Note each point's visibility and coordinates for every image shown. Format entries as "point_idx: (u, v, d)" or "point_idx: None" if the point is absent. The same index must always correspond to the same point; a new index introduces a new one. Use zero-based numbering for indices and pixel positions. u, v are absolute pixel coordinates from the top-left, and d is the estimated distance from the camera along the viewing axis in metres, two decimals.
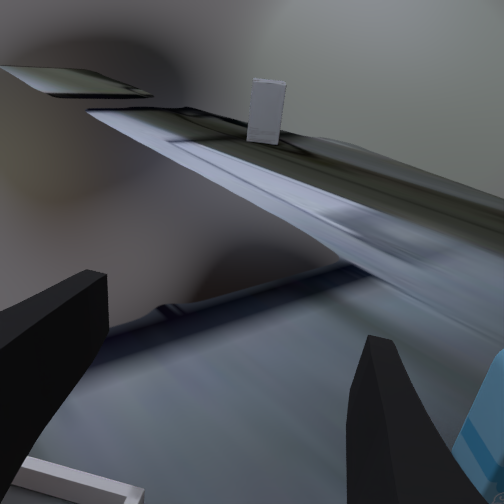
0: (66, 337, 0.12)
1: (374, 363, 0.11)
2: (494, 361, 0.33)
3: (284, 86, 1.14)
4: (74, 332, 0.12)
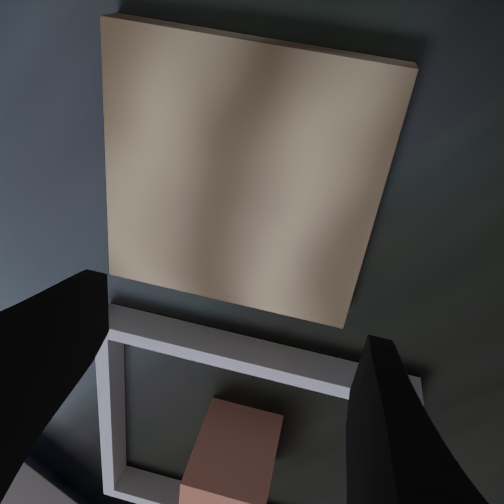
0: (66, 337, 0.12)
1: (374, 363, 0.11)
2: None
3: None
4: (74, 332, 0.12)
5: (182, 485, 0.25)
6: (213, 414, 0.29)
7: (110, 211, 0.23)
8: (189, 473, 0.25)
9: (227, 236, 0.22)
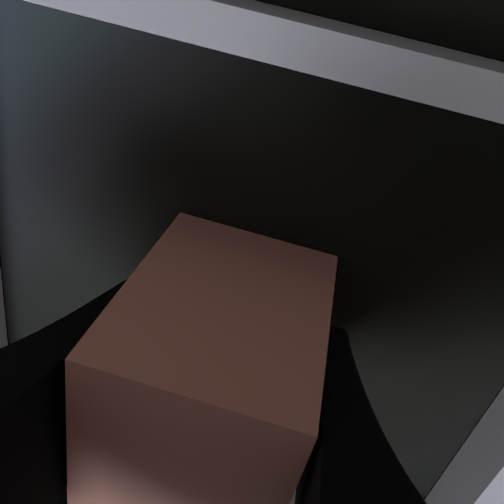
0: None
1: None
2: None
3: None
4: None
5: (71, 364, 0.08)
6: (179, 238, 0.12)
7: None
8: (98, 337, 0.09)
9: None
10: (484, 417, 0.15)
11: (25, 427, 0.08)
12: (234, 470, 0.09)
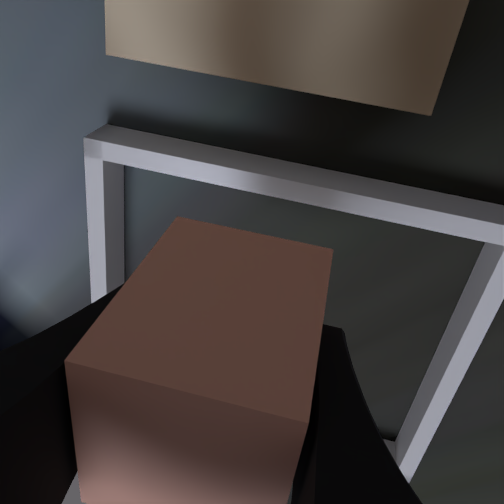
0: None
1: None
2: None
3: None
4: None
5: (70, 365, 0.09)
6: (176, 240, 0.13)
7: None
8: (96, 339, 0.09)
9: None
10: (425, 375, 0.24)
11: (29, 428, 0.08)
12: (233, 461, 0.09)
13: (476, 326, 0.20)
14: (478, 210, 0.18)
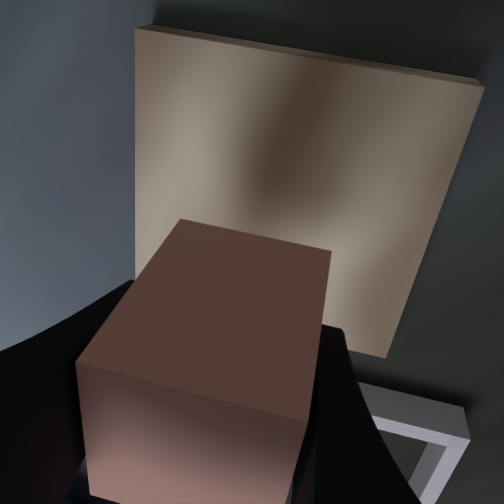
0: None
1: (318, 350, 0.11)
2: None
3: None
4: None
5: (81, 366, 0.09)
6: (179, 243, 0.13)
7: (138, 234, 0.21)
8: (105, 341, 0.10)
9: None
10: None
11: (29, 428, 0.08)
12: (236, 457, 0.10)
13: (429, 494, 0.25)
14: (427, 414, 0.24)
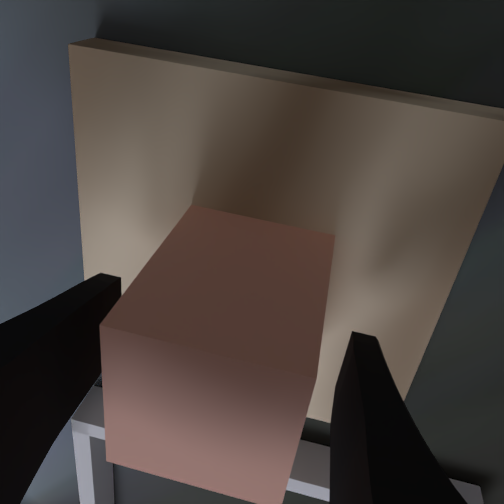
0: (82, 340, 0.12)
1: (356, 359, 0.11)
2: None
3: None
4: (89, 336, 0.12)
5: (105, 329, 0.10)
6: (191, 226, 0.14)
7: None
8: (126, 307, 0.10)
9: None
10: None
11: None
12: (248, 417, 0.10)
13: None
14: None
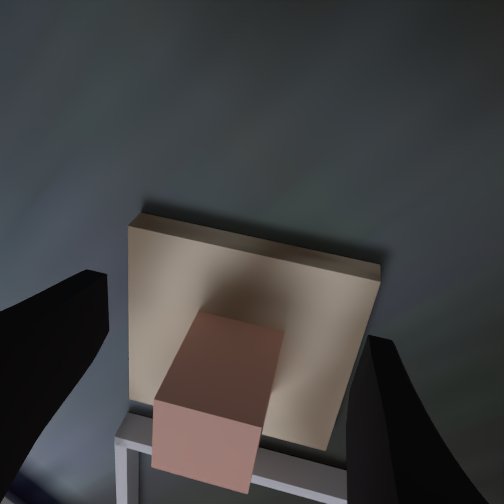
0: (66, 336, 0.12)
1: (374, 363, 0.11)
2: None
3: None
4: (74, 332, 0.12)
5: (156, 401, 0.20)
6: (198, 328, 0.23)
7: (131, 355, 0.27)
8: (166, 388, 0.20)
9: None
10: None
11: None
12: (229, 445, 0.20)
13: None
14: None
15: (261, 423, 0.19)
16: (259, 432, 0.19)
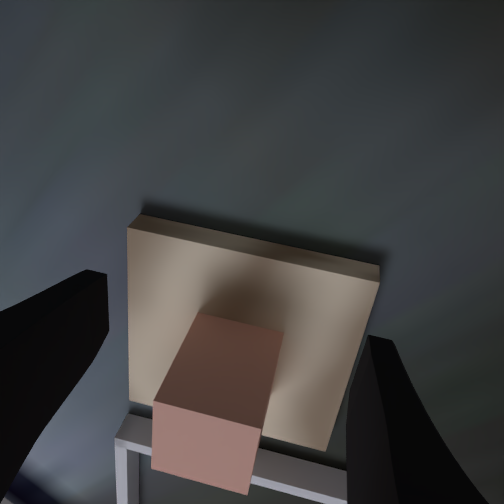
0: (66, 337, 0.12)
1: (374, 363, 0.11)
2: None
3: None
4: (74, 332, 0.12)
5: (155, 402, 0.20)
6: (198, 330, 0.23)
7: (131, 356, 0.27)
8: (165, 389, 0.20)
9: None
10: None
11: None
12: (228, 446, 0.20)
13: None
14: None
15: (260, 424, 0.19)
16: (258, 433, 0.19)
